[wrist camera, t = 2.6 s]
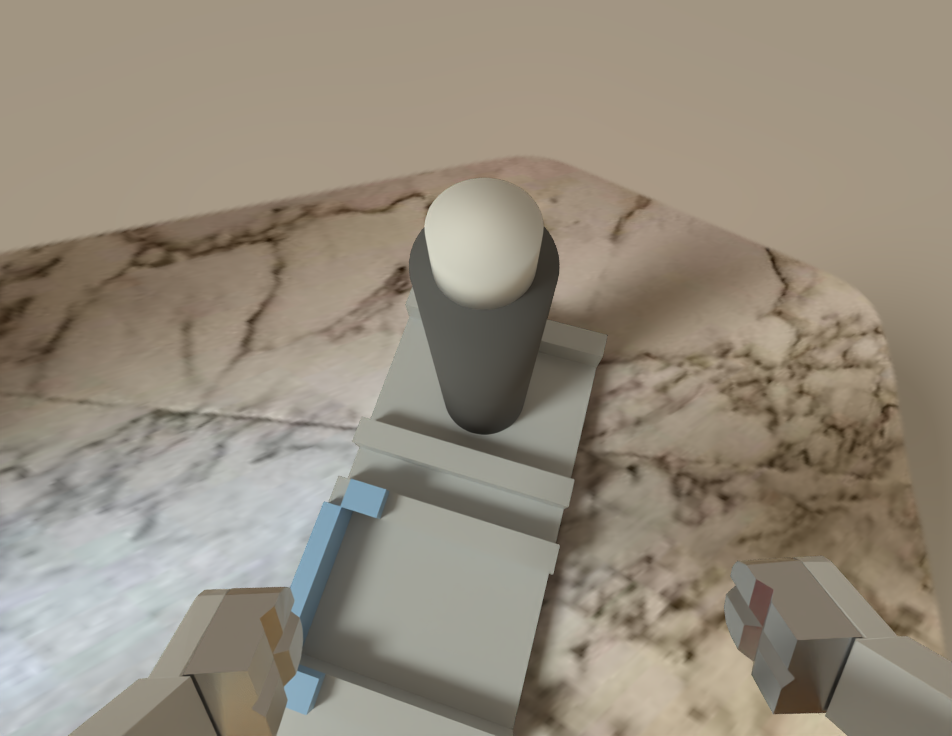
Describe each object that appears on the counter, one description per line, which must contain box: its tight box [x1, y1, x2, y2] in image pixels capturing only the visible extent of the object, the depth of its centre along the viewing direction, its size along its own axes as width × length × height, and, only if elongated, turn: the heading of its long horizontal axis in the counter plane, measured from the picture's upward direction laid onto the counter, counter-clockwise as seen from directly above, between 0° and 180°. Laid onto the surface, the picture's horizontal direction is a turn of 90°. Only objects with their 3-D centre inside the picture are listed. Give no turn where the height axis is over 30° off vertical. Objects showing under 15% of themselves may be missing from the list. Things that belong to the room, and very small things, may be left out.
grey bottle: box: [409, 178, 559, 435], centre depth 18 cm, size 4×4×14 cm
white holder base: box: [277, 287, 608, 736], centre depth 22 cm, size 10×21×3 cm, turn 163°
